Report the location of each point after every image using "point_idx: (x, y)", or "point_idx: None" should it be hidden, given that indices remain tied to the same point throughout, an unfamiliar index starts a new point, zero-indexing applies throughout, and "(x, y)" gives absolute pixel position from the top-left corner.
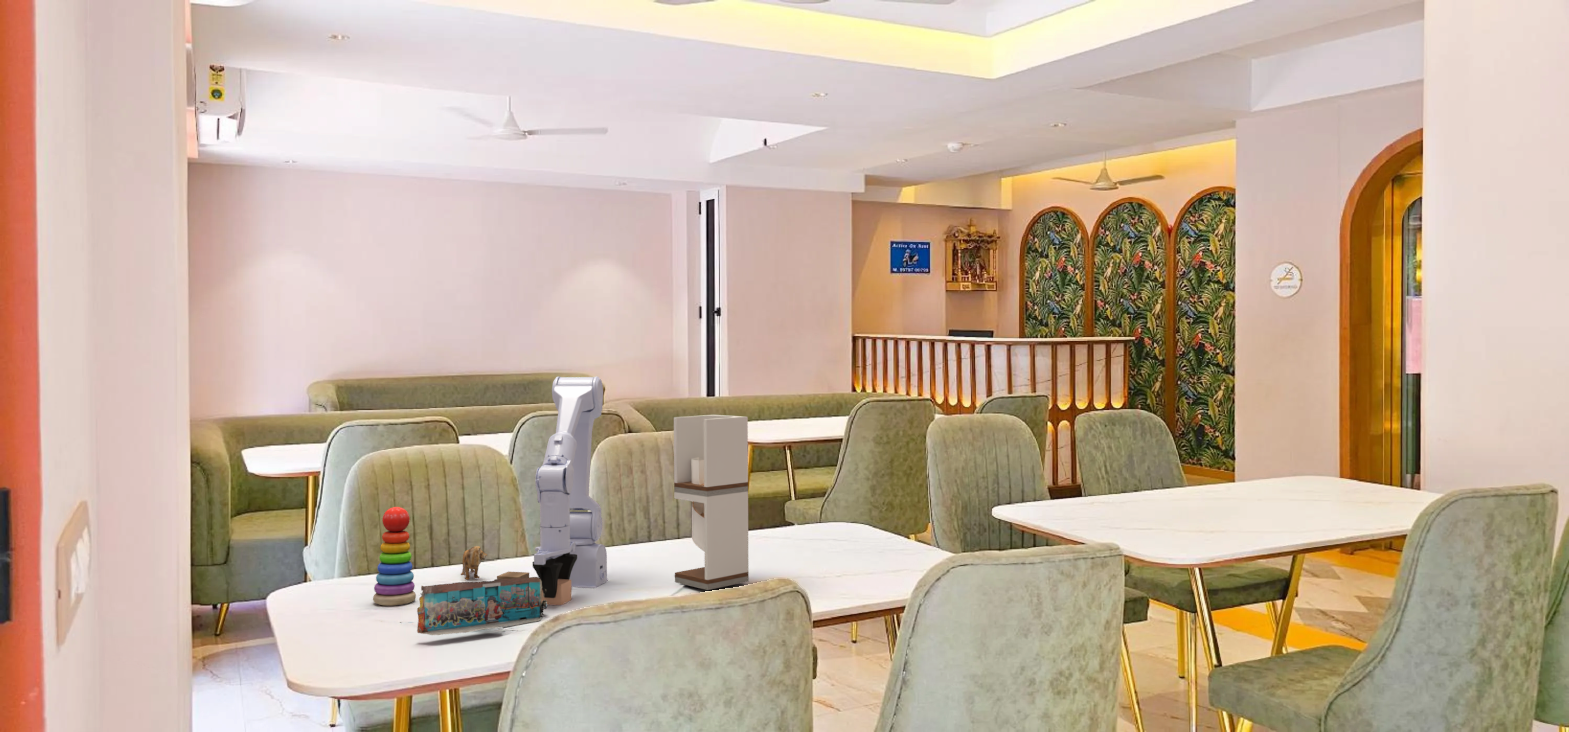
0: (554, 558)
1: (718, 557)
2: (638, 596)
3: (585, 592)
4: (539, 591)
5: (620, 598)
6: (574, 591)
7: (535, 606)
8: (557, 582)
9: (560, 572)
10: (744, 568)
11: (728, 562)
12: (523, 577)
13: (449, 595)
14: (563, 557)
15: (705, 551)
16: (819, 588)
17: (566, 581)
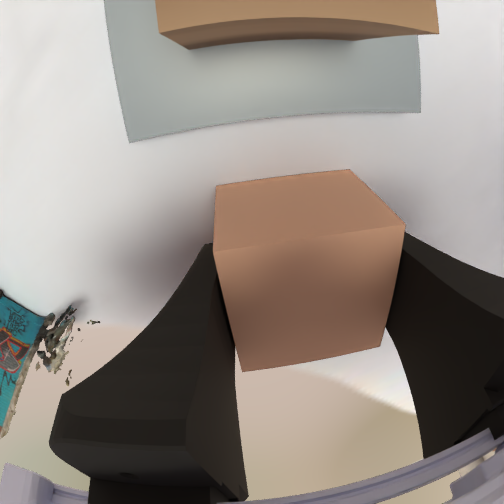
0: (486, 378)
1: None
2: (398, 388)
3: (462, 253)
4: (11, 392)
5: (376, 376)
6: (479, 205)
7: (15, 339)
8: (233, 369)
9: (417, 323)
10: None
11: None
12: (299, 22)
13: None
14: (456, 431)
15: (464, 472)
16: (421, 459)
17: (329, 353)
